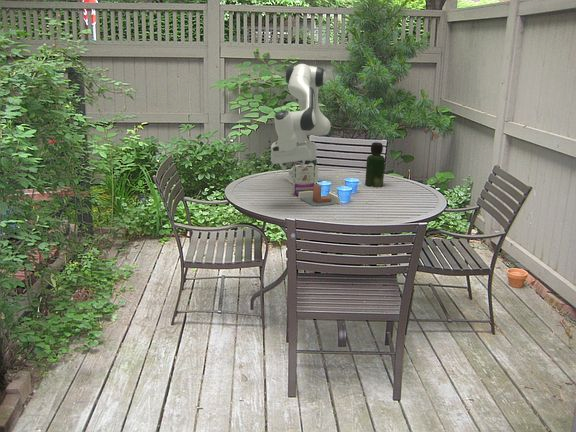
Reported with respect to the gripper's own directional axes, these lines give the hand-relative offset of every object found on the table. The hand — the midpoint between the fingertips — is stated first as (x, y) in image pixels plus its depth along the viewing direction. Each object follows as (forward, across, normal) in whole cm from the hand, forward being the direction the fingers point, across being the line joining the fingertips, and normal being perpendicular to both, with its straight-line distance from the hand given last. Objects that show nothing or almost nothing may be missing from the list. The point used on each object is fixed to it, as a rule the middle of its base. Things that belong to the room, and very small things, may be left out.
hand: (293, 168), depth 319 cm
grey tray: (+23, -8, -6) cm, 25 cm away
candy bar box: (+24, +2, -17) cm, 29 cm away
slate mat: (+23, -8, -5) cm, 24 cm away
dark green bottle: (+41, -34, -50) cm, 73 cm away
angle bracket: (+22, -10, -3) cm, 24 cm away
